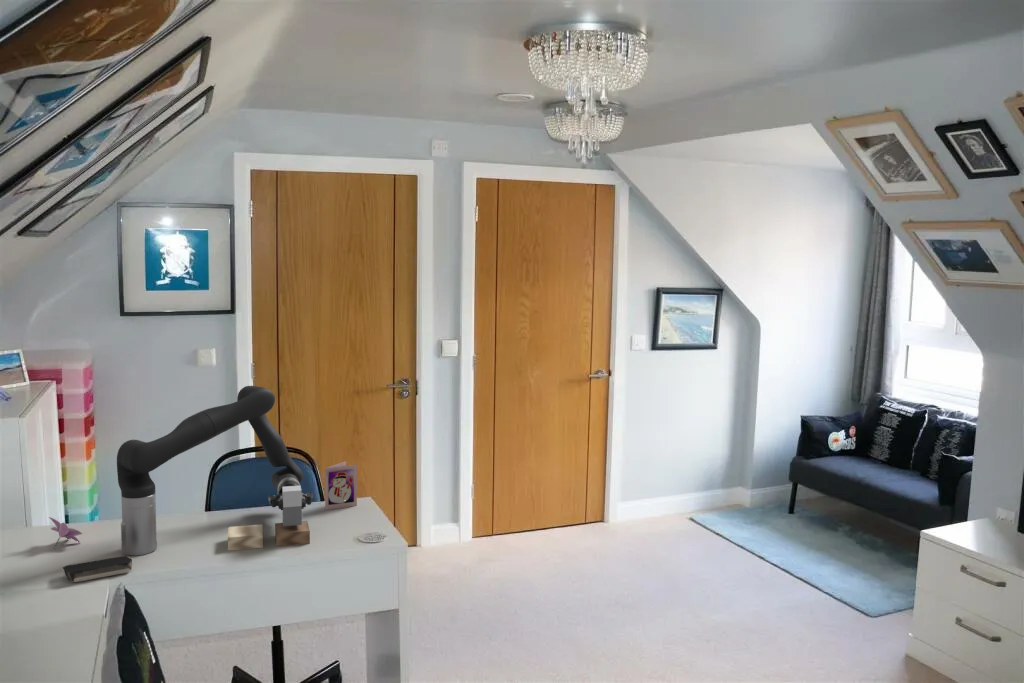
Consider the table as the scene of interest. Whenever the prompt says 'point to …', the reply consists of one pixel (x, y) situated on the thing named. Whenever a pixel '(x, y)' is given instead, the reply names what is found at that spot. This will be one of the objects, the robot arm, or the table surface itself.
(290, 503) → the block
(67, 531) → the lily
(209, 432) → the robot arm
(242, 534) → the birch stand
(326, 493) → the greeting card
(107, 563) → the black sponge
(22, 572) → the table surface
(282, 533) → the walnut stand
